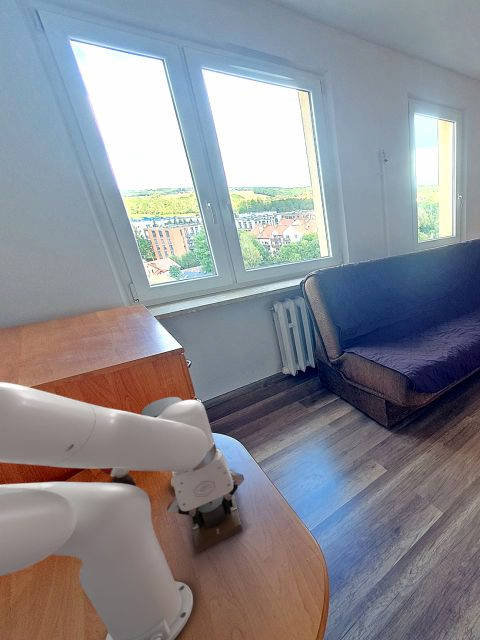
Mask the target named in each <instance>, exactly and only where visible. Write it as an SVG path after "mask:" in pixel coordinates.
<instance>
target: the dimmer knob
mask: <svg viewBox="0 0 480 640" xmlns="http://www.w3.org/2000/svg"><path fill="white" fill-rule="evenodd" d="M198 511H199V514H200V517H201V520H202V523H203V526H204V527H205V528H214V527H217V526H219V525H220V524H222V523H223V522H224V521H225V520H226V518H227V516H228V513H227V510H226V506H225V503H224V498H223V496H221V497H219V498H217V499H215V500H212V501H210V502H208V503H206V504H203V505H201V506H199V507H198Z"/></svg>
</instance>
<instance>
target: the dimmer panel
mask: <svg viewBox="0 0 480 640" xmlns="http://www.w3.org/2000/svg"><path fill="white" fill-rule="evenodd" d="M234 496H235V494H234V495H232V502H233V507H231V508H230V509H231V514H228V516H227V518H226V520H225V521H224V522H223V523H222V524H220V525H219V526H217V527H214V528H205V527H204V526H202V528H199V527H198V524H195V525H194V523H193V520H192V519H191V523H192V528H191V531H192V535H193V546H194V550H195V552H196V554H199V553H200V552H202V551H204V550H206V549H208V548H210V547H212V546H214V545H216V544H218V543H221V542H222V541H224V540H225V539H226V540H227V539H228V538H230V537H232V536H234V535H236V534H238V533H239V532H242V531H243V530H244V529H243V525H242V521H241V518H240V513H239V510H238V509H239V508H238V505H237V501H236V496H235V497H234Z"/></svg>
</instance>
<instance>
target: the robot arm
mask: <svg viewBox="0 0 480 640" xmlns="http://www.w3.org/2000/svg"><path fill="white" fill-rule="evenodd" d="M0 463H2V464H3V463H4V464H18V465H31V466H43V467H55V468H66V469H67V468H69V469H86V470H87V469H89V470H90V469H91V470H98V469H99V470H100V469H102V468H121V469H124V470H129V472H130V471H133V472H168V473H169V472H171V479H172V480H173V486H174V489H173V490H174V496H173V497H172V499H171V501H169V504H168V505H167V507H166V512H167V514H178V515H184V516H188V518H191V521H192V520H193V523H194V525H195V524H198V527H199V528H202V526H203V523H202V520H201V517H200V514H199V511H198V507H199V506H201V505H203V504H206V503H208V502H210V501H212V500H215V499H217V498H219V497H221V496H223V498H224V503H225V506H226V510H227V513H228V514H231V509H230V508H231V507H233V502H232V495H233V494H234V495H235V493H236V492H237V490H238V487H240V485H242V483H243V482H244V481H245V476H244V474H242V473H238V472H235V471H233V470H230V467H229V464H228V461H227V459H226V457H225V456H224V454H223V452H222V451H221V449H220V448H219V447H217V446H216V442H215V439H214V435H213V432H212V429H211V425H210V421H209V418H208V414H207V411H206V407H205V405H204V404H203V403H202V402H201V401H200V400H197V399H184V400H182V401H180V402H177V403H174V404H172V405H170V406H169V407H167V408H166V409H165V410H164V411H163V412H162V413H161V415H159V416H158V417H156V418H155V417H150V416H144V415H142V414H139V413H135V412H131V411H126V410H121V409H116V408H111V407H104V406H100V405H97V404H93V403H90V402H89V403H88V402H86V401H85V402H84V401H81V400H78V399H73V398H69V397H66V396H62V395H58V394H55V393H52V392H48V391H44V390H40V389H37V388H32V387H29V386H26V385H21V384H17V383H11V382H5V381H0ZM151 507H152V506H151V500H150V497H149V495H148V493H147V492H146V491H145V490H144V489H143V488H141V487H139V486H137V487H136V486H133V485H129V484H123V483H114V482H103V481H101V482H99V481H91V482H87V481H86V482H85V481H84V482H83V481H43V482H25V483H23V482H22V483H4V484H0V577H3V576H7V575H10V574H13V573H18V572H20V571H22V570H25V569H27V568H29V567H32V566H34V565H36V564H38V563H39V562H42V561H43V560H45V559H46V558H49V557H50V556H51V555H52V556H63V557H73V558H77V559H78V560H80V561H81V563H82V565H81V567H80V569H79V572H78V580H79V584H80V586H81V588H82V590H83V592H84V594H85V595H86V597H87V599H88V600H89V601H90V603H91V605H92V607H93V608H94V610H95V612H96V614H97V615H98V617H99V619H100V620H101V622H102V625H104V627H105V630H106V631H107V634H106V637H105V640H175V639H176V638H177V636H178V635H180V633H181V632H182V630H183V629H184V627H185V626H186V624H187V622H188V621H189V618H190V616H191V614H192V611H193V608H194V607H193V606H194V595H193V592H192V589H190V587H189V585H187V584H186V583H184V582H181V581H176V580H175V578H174V576H173V573H172V571H171V569H170V566H169V564H168V562H167V559H166V556H165V553H164V552H163V550H162V547H161V545H160V543H159V540H158V538H157V535H156V533H155V530H154V526H153V520H152V508H151Z"/></svg>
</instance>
